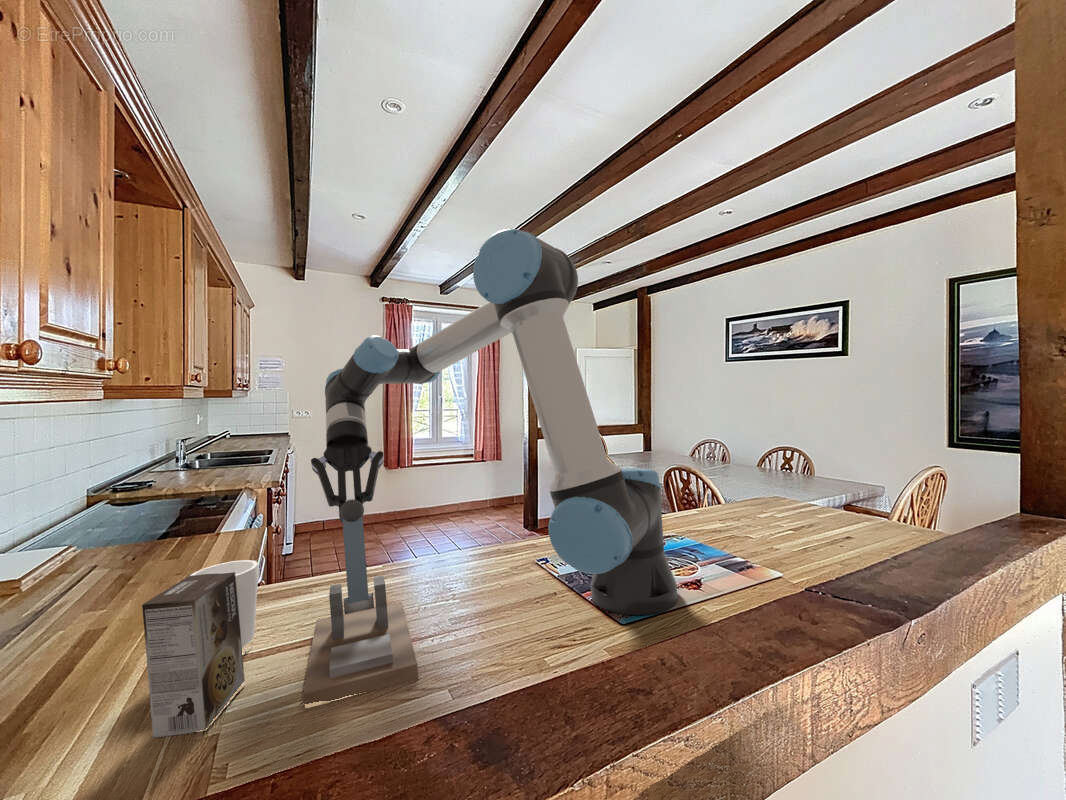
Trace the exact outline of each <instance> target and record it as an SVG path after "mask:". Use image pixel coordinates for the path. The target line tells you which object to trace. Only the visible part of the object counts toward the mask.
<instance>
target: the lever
mask: <svg viewBox="0 0 1066 800" xmlns="http://www.w3.org/2000/svg"><path fill="white" fill-rule="evenodd" d="M364 512H365V507H364V504H363V505H362V503H361V502H359V501H357V500H349V501H347V502H345V503H344V504H343V505H342V507H341V509H340V516H341V518H342V522H343V523H342V531H343V532H342V535H343V547H344V560H345V561H344V562H345V574H346V584H347V586H346V588H347V597H343V614H349V613H354V612H359V611H363V610H368V609H373V608H374V607H375V601H374V600H375V599H374V593H373V592H374V591H373V592H369V585H368V584H369V583H368V571H367V557H366V545H365V532H364Z"/></svg>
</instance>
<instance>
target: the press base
mask: <svg viewBox="0 0 1066 800" xmlns="http://www.w3.org/2000/svg"><path fill="white" fill-rule="evenodd" d="M373 585H374V586H373V588H374V598H375V599H374V600H375V601H374V604H375V606H374V608H373V609H368V610H363V611H359V612H354V613H349V614H345V613H344V601H343V591H342V583H337V584H333V585H330V587H329V593H328V596H329V610H330V616H329V617H324V618H323V617H322V618H319V619H316V620H315V624H314V625H315V626H314V629H313V630H314V631H313V635H312V636H313V637H312V641H311V642H312V643H311V648H310V652H309V659H308V664H307V665H308V666H307V671H306V676H305V682H304V687H303V695H302V697H303V705H304V704H309V703H313V702H319V701H331V700H335V699H339V698H342V697H345V696H349V695H354V694H359V693H364V692H367V693H370V692H374V691H377V690H383V689H386V688H390V687H392V686H396V685H400V684H404V683H407V682H410V681H411V682H412V681H414V680H415V681H416V680H418V679H419V670H418V661H417V658H416V654H415V649H414V645H413V642H412V638H411V637H412V636H411V634H410V630H409V625H408V622H407V621H408V620H407V617H406V612H405V609H404V606H403V605H404V604H403V602H402V601H399V602H393V603H389V604H388V602H387V593H386V592H387V591H386V581H385V576H384V575H378V576H373ZM364 694H365V693H364Z"/></svg>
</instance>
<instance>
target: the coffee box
mask: <svg viewBox="0 0 1066 800" xmlns="http://www.w3.org/2000/svg"><path fill="white" fill-rule="evenodd" d="M141 609H142V618H143V630H144V631H143V632H144V633H143V634H144V643H145V656H146V664H147V665H146V666H147V667H146V668H147V678H148V679H147V680H148V681H147V682H148V693H149V704H150V714H151V717H150V718H151V725H152V726H151V728H152V737H153V738H162V737H171V736H178V735H188V734H187V733H189V734H192V733H191V732H196V731H200V730H205V729H206V728H207V727H208V726H209V724H210V723H211V722H212V721H213V719H214V718H215V717H216V716H217V715H218V714H219V713H220V711H221V710H222V709H223V708H224V706H225V705H226V704H227V702H228V701H229V700H230V698H231V697H232V696H233V694H234V693H235V692H236V691H237V689H238V688H239V687H240V686H241V684H242V683H243V682H244V681H245V682H246V679H245V668H244V658H243V657H244V655H242V645H241V632H240V621H239V611H238V599H237V588H236V578H235V572H232V573H223V574H219V573H216V574H202V575H193V576H190V575H189V576H186V577H185V578H183V579H182V580H180V581H178V582H176V583H174V585H172V586H170V587H169V588H167V589H165V590H164V591H161V593H159V594H156V596H153V597H152V598H151V599H149V600H148V601H146V602H144V603H142V605H141Z"/></svg>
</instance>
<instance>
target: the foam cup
mask: <svg viewBox="0 0 1066 800" xmlns="http://www.w3.org/2000/svg"><path fill="white" fill-rule="evenodd" d="M259 568H260V567H259V563H258V562H257V561H256V560H252V559H251V560H250V559H243V560H232V561H228V562H222V563H221V562H220V563H218V564H214V565H211V566H207V567H204V568H201V569H199V570H197V571H195V572H193V573H191V574H190V575H189V576H193V575H202V574H216V573H219V574H223V573H232V572H235V578H236V588H237V599H238V611H239V621H240V632H241V645H242V647H244V646H245V645H246V644H247V643H248V642H250V641H251V640H252V638H253V636H254V637H255V629H256V628H255V627H256V625H255V624H256V613H257V598H258V597H257V596H258V584H259V580H260V569H259Z"/></svg>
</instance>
